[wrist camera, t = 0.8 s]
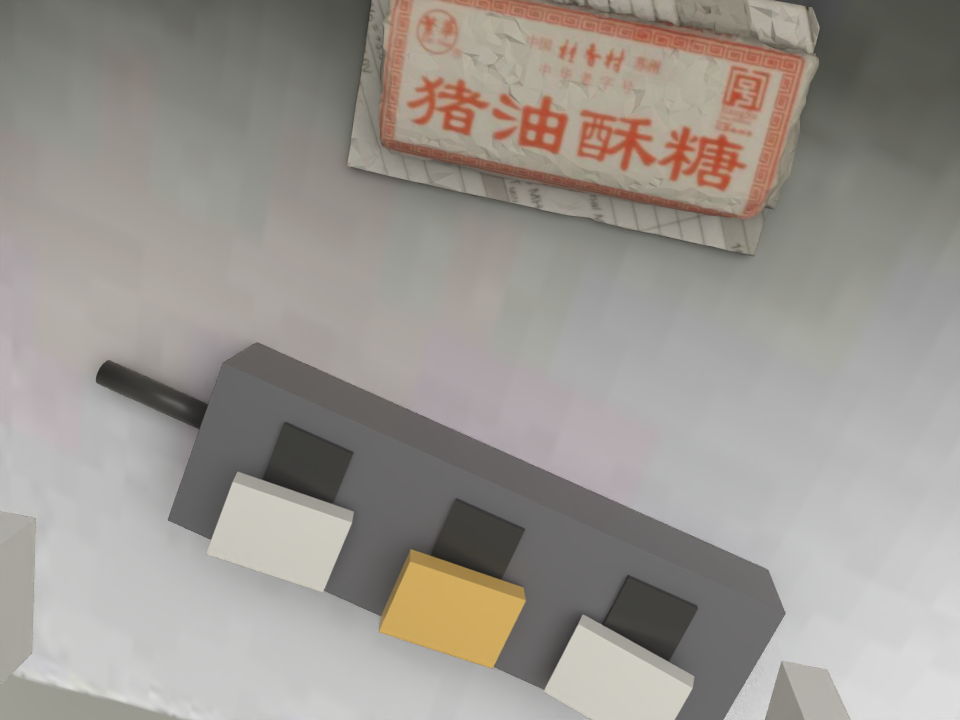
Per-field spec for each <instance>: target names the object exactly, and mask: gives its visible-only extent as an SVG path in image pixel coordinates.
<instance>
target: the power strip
mask: <svg viewBox="0 0 960 720" xmlns="http://www.w3.org/2000/svg"><path fill="white" fill-rule="evenodd" d="M96 383H97V384H100V385H102V386H104V387H106V388H109V389H111V390H113V391H115V392H118V393H120V394H122V395H124V396H126V397H129V398H131V399H133V400H135V401H138V402H140V403H142V404H144V405H147V406H149V407H151V408H153V409H156V410H158V411H160V412H162V413H164V414H167V415H169V416H171V417H173V418H176V419H178V420H180V421H182V422H185V423H187V424H189V425H191V426H193V427H196V428H198V429H200V430H199V432H198V435H197V438H196V441H195V444H194V447H193V449H192V452H191V455H190V458H189V461H188V464H187V466H186V469H185V472H184V475H183V478H182V481H181V483H180V486H179V489H178V492H177V495H176V498H175V500H174V503H173V506H172V509H171V512H170V515H169V517H168V521H171V522H173V523H175V524H177V525H179V526H182V527H184V528H186V529H188V530H191V531H193V532H195V533H197V534H199V535H202V536H204V537H206V538H208V539H212V536H213V534H214V531H215V528H216V526H217V523H218V520H219V518H220V515H221V512H222V509H223V507H224V504H225V501H226V499H227V496H228V493H229V491H230V488H231V485H232V483H233V480H234V478H235V476H236V474H237V472H241V473H243V474H246V475H249V476H252V477H255V478H258V479H261V480H264V481H267V482H270V483H272V484H275V485H278V486H281V487H284V488H287V489H290V490H293V491H296V492H299V493H301V494H304V495H307V496H310V497H313V498H316V499H319V500H322V501H325V502H328V503H331V504H333V505H336V506H339V507H342V508H345V509H348V510H351V511H354V514H353V520H352V524H351V526H350V529H349V531H348V534H347V536H346V538H345V541H344V543H343V546H342V548H341V550H340V553H339V555H338V558H337V560H336V562H335V565H334V567H333V570H332V572H331V574H330V577H329V579H328V582H327V584H326V586H325V589H324V591H326V592H328V593H331V594H333V595H335V596H337V597H339V598H342V599H344V600H346V601H348V602H351V603H353V604H355V605H357V606H359V607H362V608H364V609H366V610H368V611H371V612H373V613H375V614H377V615H379V616H381V615H382V613H383V611H384V608H385V606H386V604H387V601H388V599H389V597H390V595H391V592H392V590H393V588H394V586H395V583H396V581H397V579H398V577H399V574H400V572H401V570H402V568H403V565H404V563H405V561H406V559H407V556H408V554H409V552H410V549H412V550H415V551H418V552H421V553H424V554H427V555H430V556H432V557H435V558H438V559H441V560H444V561H447V562H450V563H453V564H456V565H459V566H462V567H465V568H468V569H471V570H474V571H476V572H479V573H482V574H485V575H488V576H491V577H494V578H497V579H500V580H503V581H506V582H509V583H512V584H515V585H518V586H520V587H523V588H524V592H525V598H526V602H525V604H524V606H523V608H522V610H521V612H520V614H519V616H518V618H517V620H516V622H515V624H514V626H513V628H512V630H511V632H510V634H509V636H508V638H507V640H506V642H505V644H504V646H503V648H502V650H501V652H500V654H499V656H498V659H497V661H496V663H495V665H494V667H495V668H497V669H499V670H502V671H504V672H506V673H508V674H511V675H513V676H515V677H517V678H519V679H522V680H524V681H526V682H528V683H531V684H533V685H535V686H537V687H539V688H542V689H544V690H545V688H546V685H547V683H548V681H549V679H550V677H551V675H552V673H553V671H554V669H555V667H556V665H557V663H558V662H559V660H560V658H561V656H562V654H563V652H564V650H565V648H566V646H567V644H568V642H569V640H570V638H571V636H572V634H573V632H574V630H575V628H576V627H577V625H578V623H579V621H580V619H581V617H582V615H583V614H584V615H585V616H587V617H589V618H591V619H593V620H594V621H596V622H598V623H600V624H602V625H603V626H605V627H607V628H609V629H610V630H612V631H614V632H616V633H618V634H619V635H621V636H623V637H625V638H627V639H628V640H630V641H632V642H634V643H636V644H637V645H639V646H641V647H643V648H645V649H646V650H648V651H650V652H652V653H654V654H655V655H657V656H659V657H661V658H663V659H664V660H666V661H668V662H670V663H672V664H673V665H675V666H677V667H679V668H681V669H682V670H684V671H686V672H688V673H690V674H691V675H693V676H694V683H693V688H692V690H691V692H690V694H689V696H688V697H687V699H686V701H685V703H684V704H683V706H682V708H681V710H680V711H679V713H678V715H677V717H676V718H675V720H723V719H724V718H725V716H726V714H727V712H728V711H729V709H730V707H731V706H732V704H733V702H734V701H735V699H736V697H737V695H738V694H739V692H740V690H741V689H742V687H743V685H744V684H745V682H746V680H747V678H748V677H749V675H750V673H751V672H752V670H753V668H754V667H755V665H756V663H757V661H758V660H759V658H760V656H761V655H762V653H763V651H764V650H765V648H766V646H767V644H768V643H769V641H770V639H771V638H772V636H773V634H774V632H775V631H776V629H777V627H778V626H779V624H780V622H781V621H782V619H783V617H784V615H785V614H786V613H785V611H784V608H783V606H782V603H781V601H780V598H779V596H778V593H777V591H776V588H775V586H774V583H773V581H772V578H771V576H770V573H769V571H768V570H767V569H765V568H763V567H760V566H758V565H756V564H754V563H751V562H749V561H747V560H745V559H742V558H740V557H738V556H736V555H733V554H731V553H729V552H727V551H724V550H722V549H720V548H718V547H715V546H713V545H711V544H709V543H706V542H704V541H702V540H700V539H697V538H695V537H693V536H691V535H689V534H686V533H684V532H682V531H680V530H677V529H675V528H673V527H671V526H668V525H666V524H664V523H662V522H659V521H657V520H655V519H653V518H650V517H648V516H646V515H644V514H641V513H639V512H637V511H635V510H632V509H630V508H628V507H626V506H623V505H621V504H619V503H617V502H614V501H612V500H610V499H608V498H605V497H603V496H601V495H599V494H596V493H594V492H592V491H590V490H587V489H585V488H583V487H581V486H578V485H576V484H574V483H572V482H569V481H567V480H565V479H563V478H560V477H558V476H556V475H554V474H551V473H549V472H547V471H545V470H542V469H540V468H538V467H536V466H534V465H531V464H529V463H527V462H525V461H522V460H520V459H518V458H516V457H513V456H511V455H509V454H507V453H504V452H502V451H500V450H498V449H495V448H493V447H491V446H489V445H486V444H484V443H482V442H480V441H477V440H475V439H473V438H471V437H468V436H466V435H464V434H462V433H459V432H457V431H455V430H453V429H450V428H448V427H446V426H444V425H441V424H439V423H437V422H435V421H432V420H430V419H428V418H426V417H423V416H421V415H419V414H417V413H414V412H412V411H410V410H408V409H405V408H403V407H401V406H399V405H396V404H394V403H392V402H390V401H388V400H385V399H383V398H381V397H379V396H376V395H374V394H372V393H370V392H367V391H365V390H363V389H361V388H358V387H356V386H354V385H352V384H349V383H347V382H345V381H343V380H340V379H338V378H336V377H334V376H331V375H329V374H327V373H325V372H322V371H320V370H318V369H316V368H313V367H311V366H309V365H307V364H304V363H302V362H300V361H298V360H295V359H293V358H291V357H289V356H286V355H284V354H282V353H280V352H277V351H275V350H273V349H271V348H268V347H266V346H264V345H262V344H259V343H255V344H253V345H252V346H250V347H248V348H247V349H245V350H243V351H242V352H240V353H238V354H237V355H235V356H233V357H232V358H230V359H228V360H227V361H225V362H223V364H222V367H221V370H220V373H219V376H218V379H217V381H216V384H215V387H214V390H213V393H212V396H211V398H210V401H209V404H206V403H204V402H201V401H199V400H197V399H195V398H193V397H190V396H188V395H186V394H184V393H181V392H179V391H177V390H175V389H172V388H170V387H168V386H166V385H163V384H161V383H159V382H157V381H155V380H152V379H150V378H148V377H146V376H143V375H141V374H139V373H137V372H134V371H132V370H130V369H128V368H125V367H123V366H121V365H119V364H116V363H114V362H112V361H110V360H108V361H106V362H105V363H104V364H103V365H102V366H101V367H100V369H99V371H98V373H97V376H96Z"/></svg>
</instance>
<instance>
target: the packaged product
mask: <svg viewBox="0 0 960 720" xmlns="http://www.w3.org/2000/svg"><path fill="white" fill-rule="evenodd" d="M819 29H820V27H819V24H818V22H817V19H816V16H815V13H814V10H813V8H811V7H806V6H801V5H795V4H790V3H784V2H779V1H774V0H372V3H371V10H370V16H369V23H368V30H367V37H366V44H365V51H364V58H363V64H362V72H361V79H360V85H359V91H358V96H357V102H356V108H355V115H354V123H353V129H352V136H351V146H350V152H349V158H348V163H347V166H349V167H354V168H358V169H362V170H367V171H371V172H375V173H379V174H383V175H387V176H391V177H396V178H400V179H405V180H409V181H413V182H418V183H422V184H427V185H431V186H435V187H440V188H445V189H449V190H454V191H458V192H463V193H468V194H472V195H477V196H482V197H487V198H491V199H496V200H501V201H506V202H510V203H515V204H520V205H525V206H530V207H534V208H537V209H541V210H545V211H550V212H555V213H559V214H564V215H571V216H578V217H585V218H592V219H593V220H595V221H598V222H603V223H608V224H612V225H617V226H620V227H623V228H626V229H630V230H635V231H640V232H645V233H650V234H655V235H660V236H665V237H670V238H675V239H680V240H684V241H689V242H693V243H697V244H702V245H708V246H713V247H717V248H721V249H724V250H728V251H733V252H737V253H742V254H746V255H750V256H754V255H755V250H756V246H757V243H758V240H759V237H760V233H761V230H762V227H763V224H764V220H765V217H766V213H767V210H768V208H770V209H775V207H776V205H777V203H778V201H779V196H780V190H781V186H782V184H783V183H784V182H785V181H786V179H787V178H788V177H789V176H790V173H791V169H792V164H793V159H794V155H795V150H796V146H797V142H798V137H799V133H800V115H801V112H802V110H803V108H804V106H805V104H806V96H807V93H808V90H809V85H810V82H811V80H812V79H813V77H814V75H815V73H816V70H817V68H818V66H819V59H818V58H817V57H816V54H813V51H814V48H815V44H816V40H817V36H818V33H819Z"/></svg>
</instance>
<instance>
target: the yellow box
mask: <svg viewBox="0 0 960 720" xmlns="http://www.w3.org/2000/svg"><path fill="white" fill-rule="evenodd" d="M525 602H526V598H525V592H524V588H523V587H520V586H518V585H515V584H512V583H509V582H506V581H503V580H500V579H497V578H494V577H491V576H488V575H485V574H482V573H479V572H476V571H474V570H471V569H468V568H465V567H462V566H459V565H456V564H453V563H450V562H447V561H444V560H441V559H438V558H435V557H432V556H430V555H427V554H424V553H421V552H418V551H415V550H412V549H410V552H409V554H408V556H407V559H406V561H405V563H404V565H403V568H402V570H401V572H400V574H399V577H398V579H397V581H396V583H395V586H394V588H393V590H392V592H391V595H390V597H389V599H388V601H387V604H386V606H385V608H384V611H383V613H382V615H381V617H380V625H379V632H380V633H383V634H386V635H390V636H393V637H396V638H399V639H402V640H405V641H408V642H411V643H414V644H417V645H421V646H424V647H427V648H430V649H433V650H436V651H439V652H442V653H445V654H448V655H452V656H455V657H458V658H461V659H464V660H467V661H470V662H473V663H476V664H479V665H483V666H486V667H489V668H492V669H493V667H494V665H495V663H496V661H497V659H498V656H499V654H500V652H501V650H502V648H503V646H504V644H505V642H506V640H507V638H508V636H509V634H510V632H511V630H512V628H513V626H514V624H515V622H516V620H517V618H518V616H519V614H520V612H521V610H522V608H523V606H524V604H525Z"/></svg>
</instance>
